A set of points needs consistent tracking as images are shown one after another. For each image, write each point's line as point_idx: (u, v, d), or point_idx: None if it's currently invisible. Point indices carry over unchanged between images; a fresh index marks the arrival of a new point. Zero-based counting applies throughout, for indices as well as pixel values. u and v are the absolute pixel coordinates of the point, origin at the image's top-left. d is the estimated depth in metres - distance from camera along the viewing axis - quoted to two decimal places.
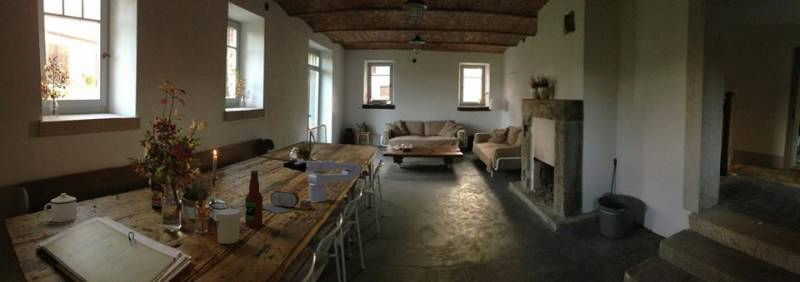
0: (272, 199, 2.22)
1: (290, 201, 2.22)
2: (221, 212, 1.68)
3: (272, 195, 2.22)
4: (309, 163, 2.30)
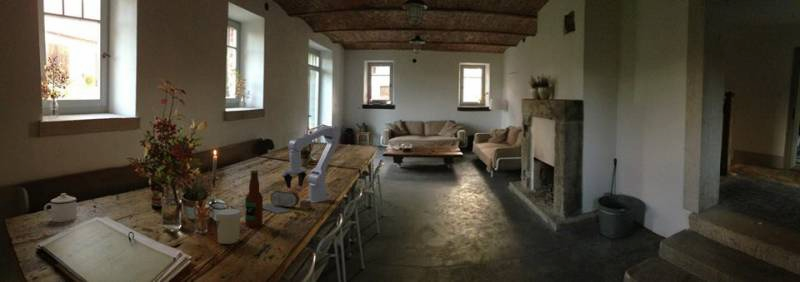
0: (272, 199, 2.22)
1: (290, 201, 2.22)
2: (221, 212, 1.68)
3: (272, 195, 2.22)
4: None
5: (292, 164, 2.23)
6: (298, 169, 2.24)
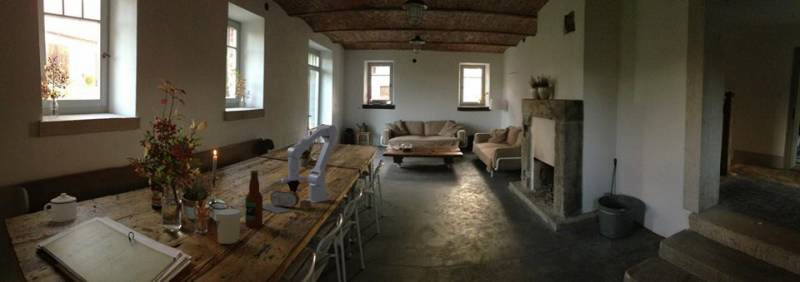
0: (272, 199, 2.22)
1: (290, 201, 2.22)
2: (221, 212, 1.68)
3: (272, 195, 2.22)
4: (288, 171, 2.25)
5: (291, 172, 2.23)
6: (297, 177, 2.24)
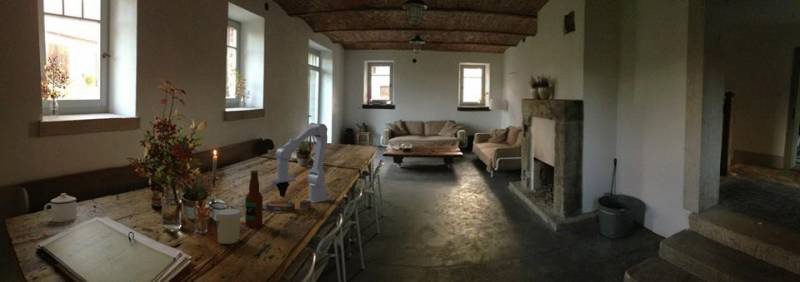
0: None
1: None
2: (221, 212, 1.68)
3: None
4: (277, 173, 2.20)
5: (279, 173, 2.18)
6: (286, 178, 2.19)
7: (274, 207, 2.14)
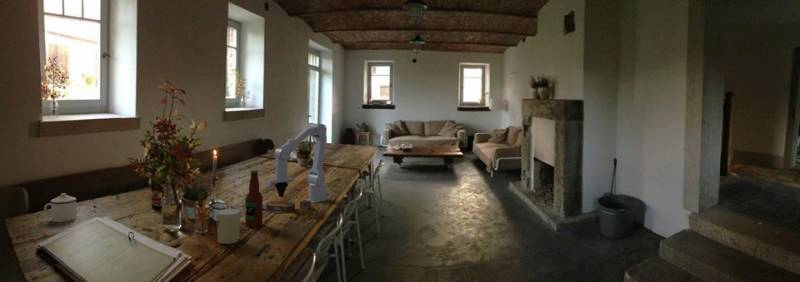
0: None
1: None
2: (221, 212, 1.68)
3: None
4: None
5: (278, 173, 2.17)
6: (284, 178, 2.18)
7: (274, 207, 2.14)
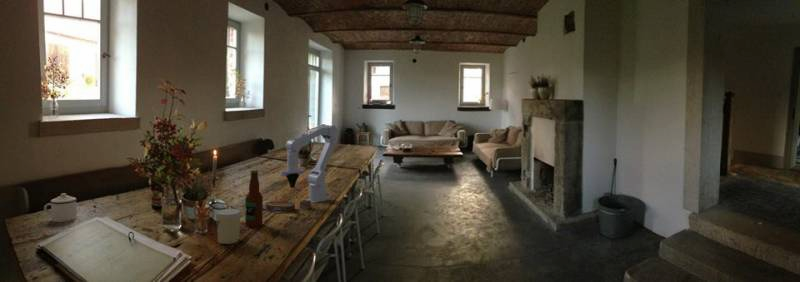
0: None
1: None
2: (221, 212, 1.68)
3: None
4: (287, 164, 2.24)
5: (290, 164, 2.22)
6: (296, 169, 2.23)
7: (274, 207, 2.14)
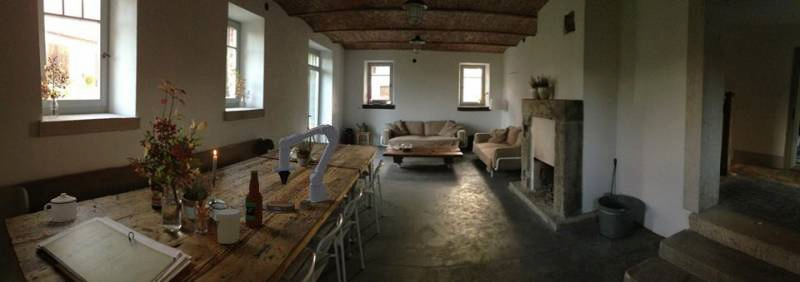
0: None
1: None
2: (221, 212, 1.68)
3: None
4: (279, 162, 2.31)
5: (281, 162, 2.28)
6: (287, 167, 2.30)
7: (274, 207, 2.14)
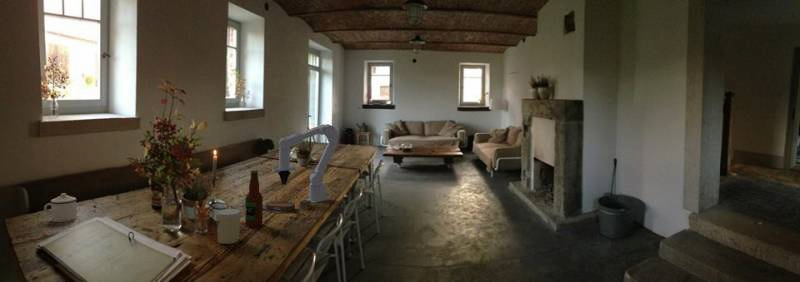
0: None
1: None
2: (221, 212, 1.68)
3: None
4: (279, 162, 2.31)
5: (281, 162, 2.28)
6: (287, 167, 2.30)
7: (274, 207, 2.14)
